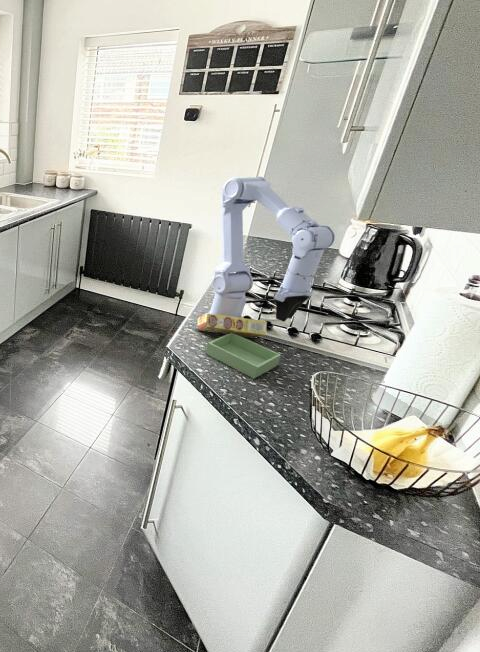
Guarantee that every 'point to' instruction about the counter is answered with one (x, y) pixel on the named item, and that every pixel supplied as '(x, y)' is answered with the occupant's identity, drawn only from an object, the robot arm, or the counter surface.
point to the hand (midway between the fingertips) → (283, 318)
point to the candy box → (232, 325)
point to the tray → (243, 354)
